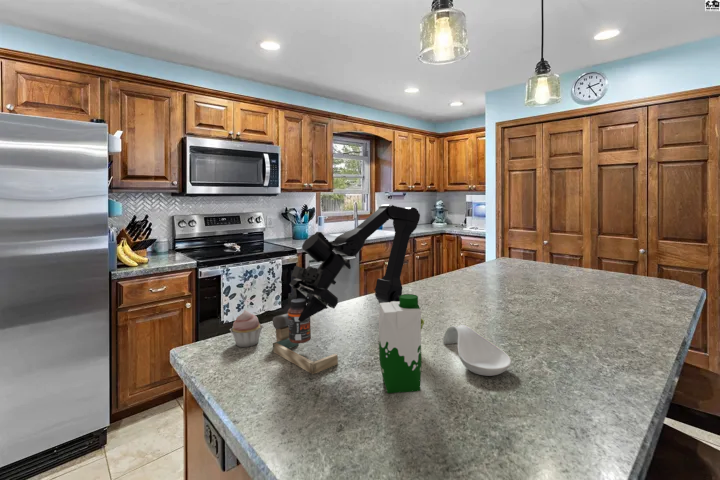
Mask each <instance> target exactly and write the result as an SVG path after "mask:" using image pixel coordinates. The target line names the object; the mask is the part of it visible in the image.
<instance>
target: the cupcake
mask: <svg viewBox="0 0 720 480" xmlns="http://www.w3.org/2000/svg"><path fill="white" fill-rule="evenodd" d="M263 327H264V325H262V324H261V323H260V322H259V318H258V317H257V315H255V314H253V313H251V312H249V311H248V310H246V309H245V310H243V312H242V313H240V314H239V315H238V316H237V317H236V318H235V320H234V322H233V323H232V328H230V329H229V331H230V332H231V334H232V336H233V339H234V341H235V344H236V346H237V347H241V348H248V347H253V346H256V345H257V344H258V343H259V341H260V336H261V332H262V329H263Z"/></svg>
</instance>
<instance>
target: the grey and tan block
mask: <svg viewBox="0 0 720 480" xmlns="http://www.w3.org/2000/svg"><path fill="white" fill-rule="evenodd" d="M272 325H273V328H274V329H275V338H276V341H275V342H278V341H281V340H284V339H288V338H289V325H288V311H286V313H284V314H279V315H276V316H273V317H272Z"/></svg>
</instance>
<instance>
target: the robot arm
mask: <svg viewBox="0 0 720 480" xmlns="http://www.w3.org/2000/svg"><path fill="white" fill-rule="evenodd" d="M420 218H421V213H419V210H418V209H417V208H416V207H401V206H397V205H393V204H381V205H380V206H379V207H378V209H377V210H375V211H374V212H373V213H372V214H371V215H370V216H368V217H367V218H366V219H364V220H363V221H362V222H361V223H359V224H358V225H357V226H356V227H355V228H353V229H351V230H347V231H346V232H343V233H342V234H340V235H338V236H336V238H335V239H334V240H331V241H329V240H328V238H327V237H325V235H324V234H323V233H322V231H316V232H315V233H314V234H312V235H310V237H308V238H307V239H305V240H304V242H303V244H302V246H301V250H303V251H304V252H305V253H306V254H307V255H308V256H309V257H310V258H312V260H314V261H315V262H316V263H321V264H320V265H319V266H318V268H317V267H312V266H310V265H309V266H307V267H306V268H305V267H300V266H298V265H294V267H293V271H292V274H291V278H293V279H292V280H291V281H290V282H289V286H290V287H292V290H293V299H299V298H302V299H305V300H306V306H305V308H304V310H303V311H302V313H301V315H300V317H299V319H298V320H299V321H300V322H302V321H304V320H306V319H307V318H309V317H310V318H311V317H312V316H314V315H316V314H317V313H320V312H321V311H324V310H325V309H329V308H332V309H335V308H336V307H337V305H338V303H339V298H338V296H336V295H335V294H334V293H333V292H331V291H330V290H329V289H330V287H331V285H334V286H335V285H336V283H337V281H336V278H337V277H338V275H339V274H340V273H341V271H342V270H343V268H344V269H347V270H351V267H352V266H351V262H350V261H351V259H348V258H345V257H344V256H347V257H354V256H356V255H358V254H359V252H360V251H361V250H362V248H364V245H365V243H366V241H367V240H368V238H369V237H371V236H372V235H373V234H374V233H375V232H376V231H377V230H379V229H380V228H381V227H382V226H383V225H385V224H386V223H387V222H388V221H389V220H392V225H393V229H394V235H393V240H392V243H391V244H392V245H391V248H390V252H389V256H388V260H387V261H388V262H387V264H386V265H387V266H386V270H385V273H384V275H383V276H382V278H377V279H376V284H375V288H374V289H373V290H374V291H375V292H374V296H375V298H376V300H377V301H378V304H379V305H380V303H386V302H391V301H396V302H397V301H399V297H400V295H403V294H402V293H403V285H402V281H401V275H402V270H403V267H404V262H405V257H406V254H407V251H408V250H407V249H408V246H409V242H410V237H411V235H412V234H413V233H414V232H415V231H416V229H417V227H418V224H419V222H420ZM293 299H292V300H293ZM289 308H291V306H290V307H289Z"/></svg>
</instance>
